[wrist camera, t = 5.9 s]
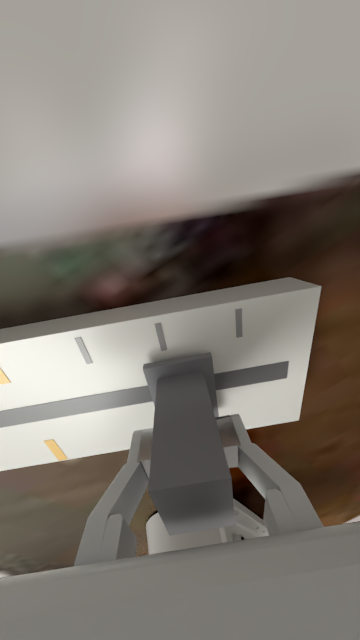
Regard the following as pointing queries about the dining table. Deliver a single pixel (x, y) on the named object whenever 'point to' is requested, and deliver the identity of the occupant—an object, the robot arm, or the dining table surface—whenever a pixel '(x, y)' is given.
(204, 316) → the console board
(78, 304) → the dining table surface
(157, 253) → the dining table surface
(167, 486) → the fader tab
